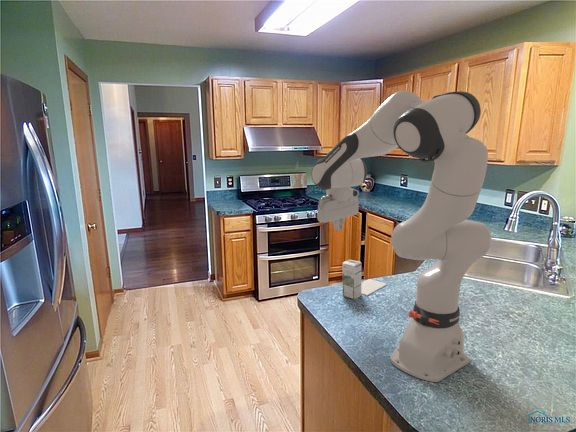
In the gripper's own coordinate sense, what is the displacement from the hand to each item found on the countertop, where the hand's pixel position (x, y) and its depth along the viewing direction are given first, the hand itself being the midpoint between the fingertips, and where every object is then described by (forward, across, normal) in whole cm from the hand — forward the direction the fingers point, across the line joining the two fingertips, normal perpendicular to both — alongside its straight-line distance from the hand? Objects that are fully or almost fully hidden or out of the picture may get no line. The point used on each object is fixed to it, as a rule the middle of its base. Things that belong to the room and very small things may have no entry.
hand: (338, 230), depth 128 cm
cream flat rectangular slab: (+29, +20, 0) cm, 35 cm away
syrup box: (+29, +8, 0) cm, 30 cm away
